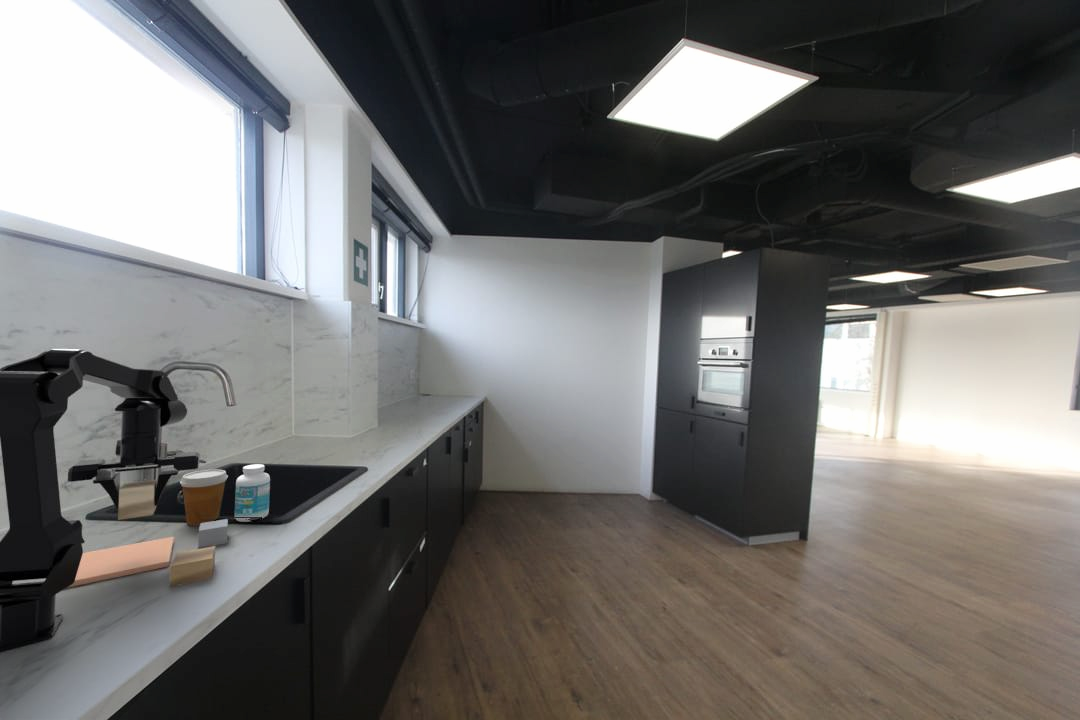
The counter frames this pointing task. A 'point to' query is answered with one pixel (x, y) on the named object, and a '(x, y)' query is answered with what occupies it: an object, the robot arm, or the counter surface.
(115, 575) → the terracotta tile
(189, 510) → the disposable coffee cup
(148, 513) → the maple block
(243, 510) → the pill bottle
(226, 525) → the grey plastic block
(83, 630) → the counter surface
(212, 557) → the oak block
